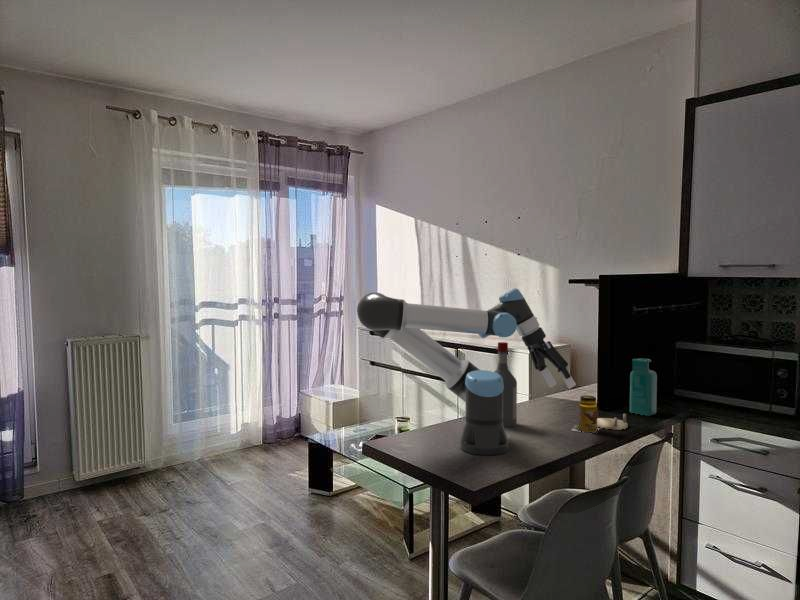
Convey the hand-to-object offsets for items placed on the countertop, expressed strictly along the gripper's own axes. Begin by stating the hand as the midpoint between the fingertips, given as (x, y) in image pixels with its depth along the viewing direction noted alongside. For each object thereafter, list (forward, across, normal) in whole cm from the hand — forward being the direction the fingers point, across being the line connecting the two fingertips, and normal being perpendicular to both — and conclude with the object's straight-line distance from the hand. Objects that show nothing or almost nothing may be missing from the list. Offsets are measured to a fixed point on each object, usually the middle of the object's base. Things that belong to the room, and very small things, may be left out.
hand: (562, 386), depth 177 cm
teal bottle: (+34, +27, -35) cm, 56 cm away
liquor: (+5, +21, +19) cm, 29 cm away
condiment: (+20, +9, -3) cm, 22 cm away
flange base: (+25, +13, -14) cm, 31 cm away
